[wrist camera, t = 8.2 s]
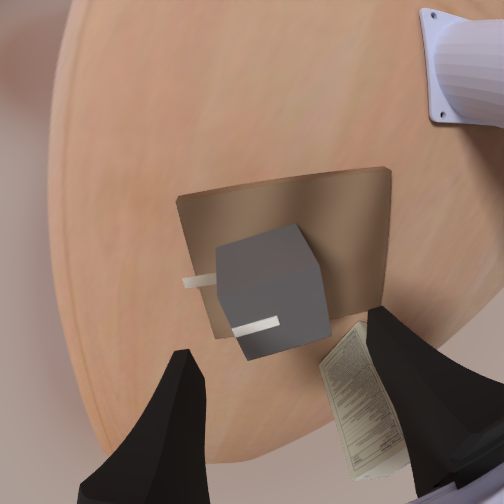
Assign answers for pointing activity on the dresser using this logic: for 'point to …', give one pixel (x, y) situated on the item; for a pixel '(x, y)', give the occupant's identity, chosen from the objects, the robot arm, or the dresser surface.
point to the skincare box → (362, 409)
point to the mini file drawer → (272, 292)
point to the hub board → (310, 225)
